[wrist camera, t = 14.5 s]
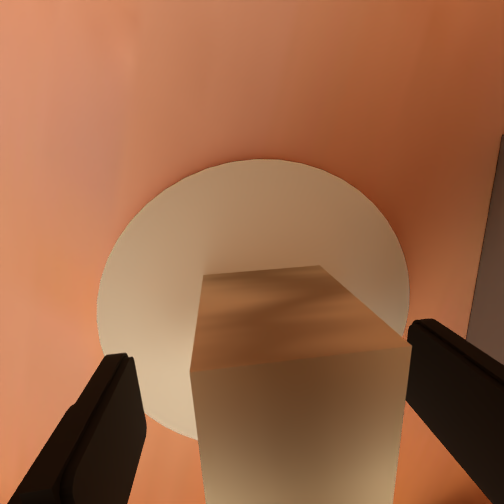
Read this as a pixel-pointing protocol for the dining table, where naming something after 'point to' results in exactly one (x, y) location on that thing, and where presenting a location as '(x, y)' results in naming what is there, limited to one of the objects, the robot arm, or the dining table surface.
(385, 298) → the off-white plate
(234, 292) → the birch block
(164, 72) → the dining table surface
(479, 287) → the gray bin
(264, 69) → the dining table surface
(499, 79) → the dining table surface
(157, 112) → the dining table surface
